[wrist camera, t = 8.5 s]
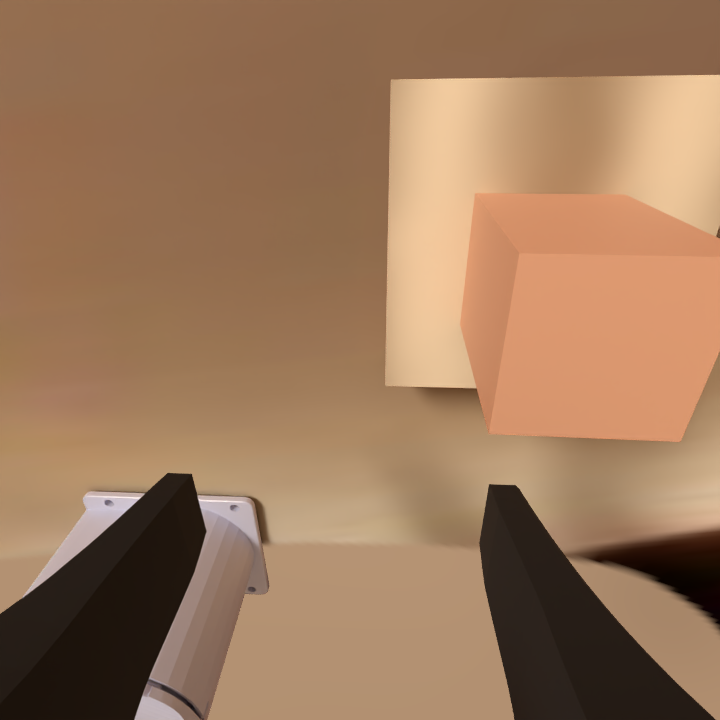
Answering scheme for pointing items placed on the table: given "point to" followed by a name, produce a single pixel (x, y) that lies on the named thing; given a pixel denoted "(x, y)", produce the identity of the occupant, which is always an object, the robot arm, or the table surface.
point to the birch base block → (525, 181)
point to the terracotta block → (588, 316)
